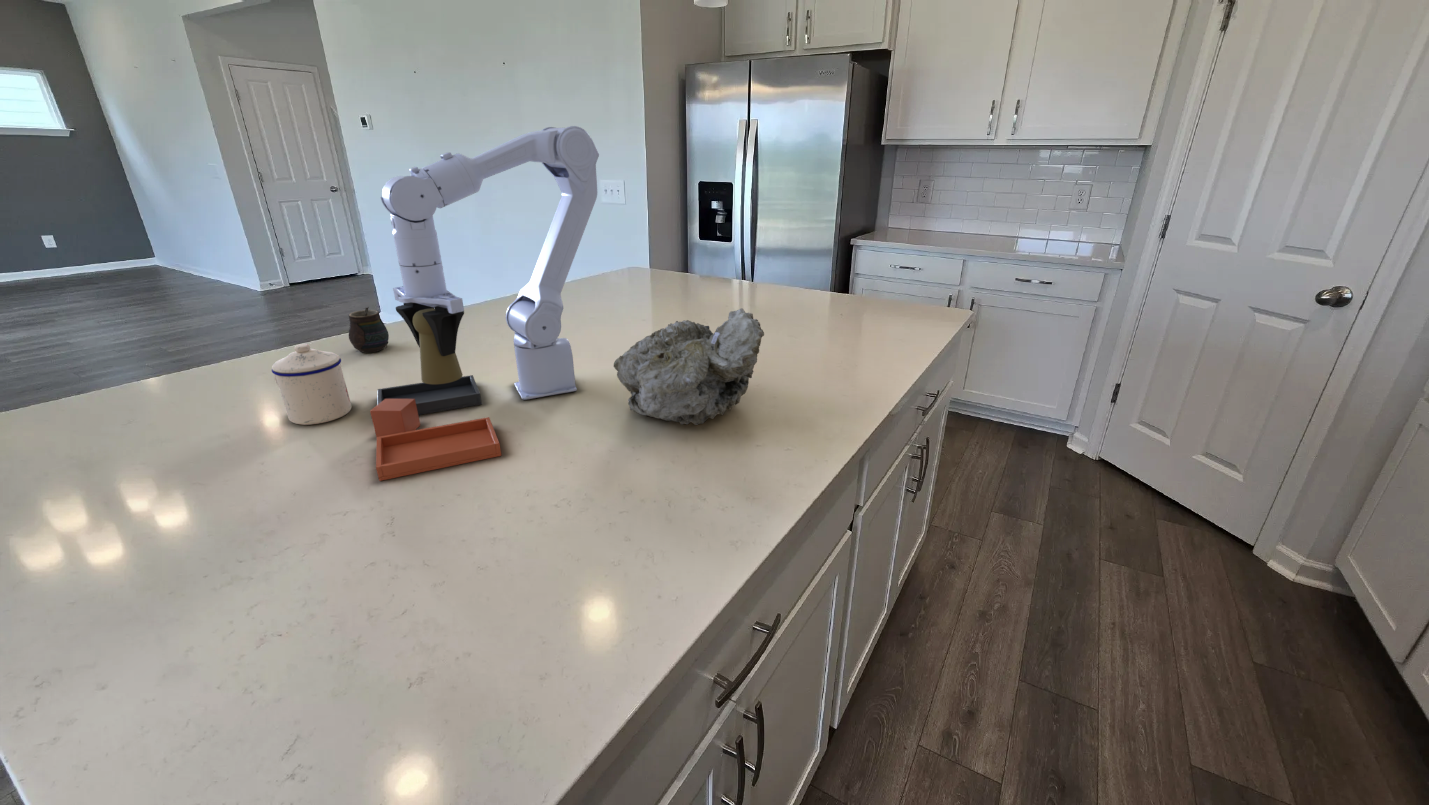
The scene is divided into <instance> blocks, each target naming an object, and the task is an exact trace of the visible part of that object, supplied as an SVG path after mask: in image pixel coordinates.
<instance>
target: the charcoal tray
mask: <svg viewBox="0 0 1429 805" xmlns="http://www.w3.org/2000/svg"><path fill="white" fill-rule="evenodd" d="M478 387H479V386H478V385H477V382H476V379H475V377H474V374H473V375H471V374H470V375H464V376H463V375H462V377H461V378H460V379H458V380H456V381H453V382H450V383H445V384H426V383H424V382H416V383H410V384H402V385H396V386H390V387H382V388H377V396H376V398H377V399H376V400H377V402H376V406H377V405H378V404H379V403H380V402H382V401H383V400H384V399H415V402H416V407H417V411H418V416H421V415H427V414H433V413H438V412H444V411H450V410H456V409H462V408H463V409H464V408H469V407H475V406H480V405H483V404H482V397H481V392H480V389H479V388H478Z"/></svg>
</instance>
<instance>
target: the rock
mask: <svg viewBox="0 0 1429 805" xmlns="http://www.w3.org/2000/svg"><path fill="white" fill-rule="evenodd" d="M727 318H728V319H727V320H725V321H724V322H723V323H721V325H719V326H717V327H716V329H715V331H714V333H713V332H712V330H711V329H710V326H709V325H705V324H700V323H699V322H697V323H696V322H695V321H691V320H688V319H686V320H682V321H678V320H676V321H675V322H674V323H672V322H671V323H669V324H667V326H666V327H664V328H663V327H662V328H660V329H658V330H656V331H654V332H652V333H651V334H649V335H647V336H644V338H642V339H640V340H639V341H637V342H635V343H634V344H633V345H632V346H630V348H629V349H628V350H626V351H625V352H624V353H623V354H622V355H619V357H617V358H616V359H615V361H614V362H613V368H614V369H615V371H616V377H617V379H618V380H619V382H620V383H621V385H623V386H624V387H625V389H626V390H627V391H628V392H629V393H630V397H629V398H628V402H627V404H628V406H629V410H630V411H632V412H635V413H637V414H638V415H641V416H648V417H650V418H652V417H653V418H655V419H661V420H663V421H666V422H667V421H668V422H671V421H672V422H675V423H679V424H680V425H689V424H690V423H692V424H693V425H697V426H698V425H700V424H701V425H703V424H704V423H705V422H706V421H707V420H708V419H712V420H713V419H715V417H716V416H717V415H720V416H723V415H724V414H725V411H726V410H728V411H731V410H732V408H733V407H734V405H738V404H739V403H740V401H741V398H742V396H744V395H745V394H746V393H747V390H748V388H749V384H750V379H753V373H754V368H755V366H756V364H757V362H758V355H759V353H760V347H761V344H762V337H764V336H765V332H764V329H762V327H761V322H760V321H759V319H757V318H754V314H753V313H752V312H746V311H745V310H744V308H739V309H737V310H733V311H732V310H731V311H729V312H728V316H727Z"/></svg>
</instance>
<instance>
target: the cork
mask: <svg viewBox="0 0 1429 805" xmlns="http://www.w3.org/2000/svg"><path fill="white" fill-rule="evenodd" d="M433 310H435V309H434V308H432V309H424V310H420V311H418V312H416V313H415V314H414V316H413V325H414V327H415V329H416V330H417V331H418V332H419V341H420V348H419V356H420V357H419V358H420V376H421V377H420V379H421V383H423V382H424V383H426V384H445V383H450V382H453V381H456V380H458V379H460V378H461V377H463V375H464V374H463V372H462V368H461V366H460V363H459V359H458V357H457V353H456V352H455V353H454V354H450V355H447V356H441V354H440V352H439V350H438V347H437V344H436V340H435V337H434V334H433V332H432V329H431V327H430V325H429V324H428V322H427V321H426V319H425V318H424V317H423V314H422V313H425V312H429V311H433Z"/></svg>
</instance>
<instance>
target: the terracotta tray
mask: <svg viewBox="0 0 1429 805" xmlns="http://www.w3.org/2000/svg"><path fill="white" fill-rule="evenodd" d="M375 448H376V449H375V450H376V451H375V453H376V454H375V470H376V473H377V477H378V481H379V482H381V481H382V482H383V481H387V480H390V479H391V480H392V479H395V478H402V477H405V476H406V477H407V476H410V475H415V474H420V473H424V472H430V471H435V470H439V469H444V468H449V467H454V466H458V465H463V464H464V465H465V464H468V463H473V462H478V461H483V460H487V459H492V458H498V457H501V456H502V451H501V443H500V441H499V439H498V436H497V434H496V431H495V428H494V426H493V422H492V421H491V418H490V417H489V416H487V417H482V418H477V419H476V418H475V419H470V420H466V421H459V422H458V421H457V422H454V423H448V424H442V425H436V426H431V427H426V428H420V429H416V430H414V431H408V432H403V433H397V434H391V435H386V436H381V437H376V446H375Z"/></svg>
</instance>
